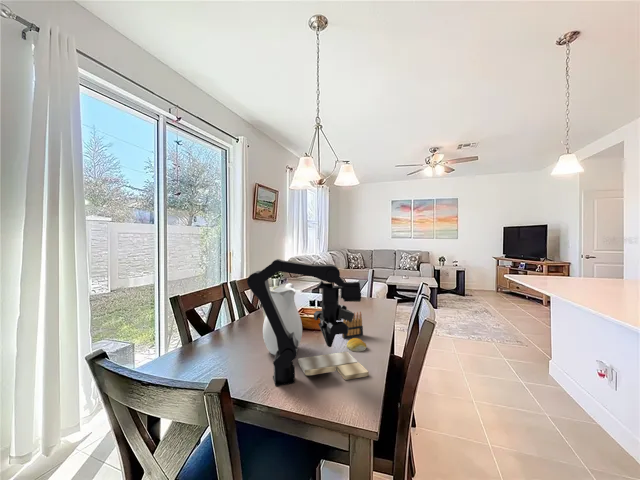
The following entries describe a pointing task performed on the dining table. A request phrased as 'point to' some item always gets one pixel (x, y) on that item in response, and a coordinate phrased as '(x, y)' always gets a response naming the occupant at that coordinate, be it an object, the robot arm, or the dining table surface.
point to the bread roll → (356, 345)
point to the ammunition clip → (354, 327)
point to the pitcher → (283, 317)
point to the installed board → (326, 361)
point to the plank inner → (320, 370)
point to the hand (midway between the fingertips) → (329, 346)
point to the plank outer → (352, 371)
